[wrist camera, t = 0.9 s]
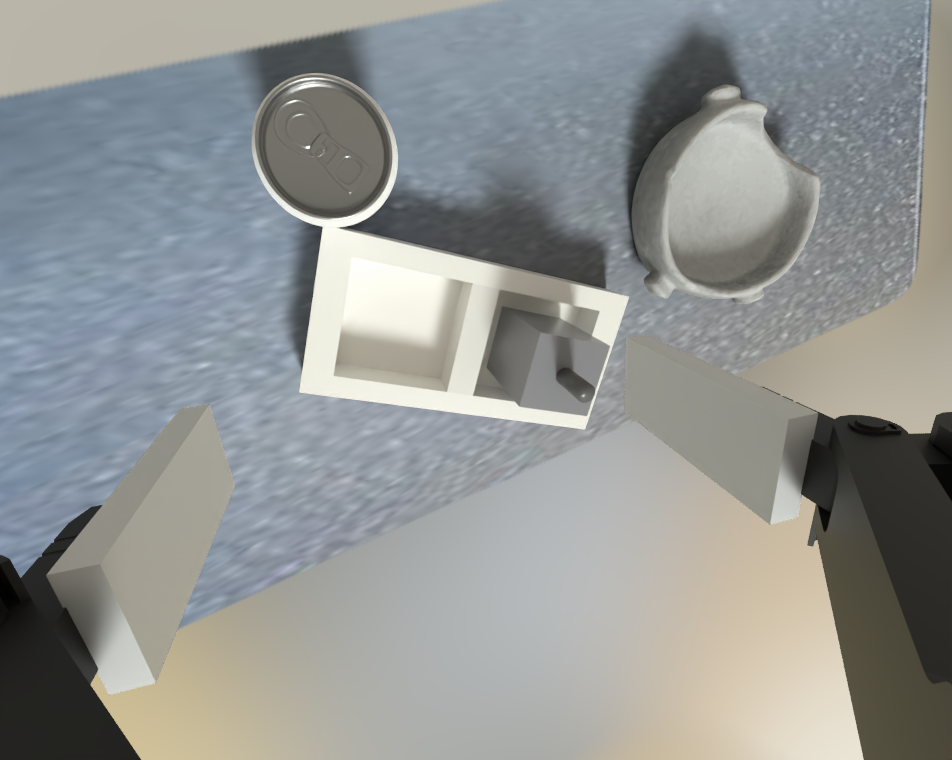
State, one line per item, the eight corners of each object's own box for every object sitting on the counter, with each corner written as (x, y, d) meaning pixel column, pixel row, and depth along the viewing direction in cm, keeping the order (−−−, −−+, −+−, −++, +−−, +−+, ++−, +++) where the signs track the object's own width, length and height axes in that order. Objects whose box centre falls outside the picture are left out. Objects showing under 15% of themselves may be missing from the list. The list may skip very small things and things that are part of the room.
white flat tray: (303, 375, 36) (299, 392, 32) (325, 222, 32) (323, 225, 29) (566, 412, 42) (584, 429, 39) (606, 288, 39) (629, 296, 36)
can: (321, 86, 30) (307, 22, 19) (403, 165, 32) (432, 147, 22) (258, 170, 30) (209, 154, 20) (343, 240, 33) (341, 260, 22)
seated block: (486, 367, 38) (535, 426, 28) (502, 306, 37) (560, 345, 27) (543, 376, 40) (608, 436, 30) (560, 318, 38) (635, 359, 28)
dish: (666, 79, 35) (714, 62, 30) (800, 151, 39) (859, 145, 35) (592, 274, 39) (624, 284, 34) (722, 319, 43) (766, 333, 39)
